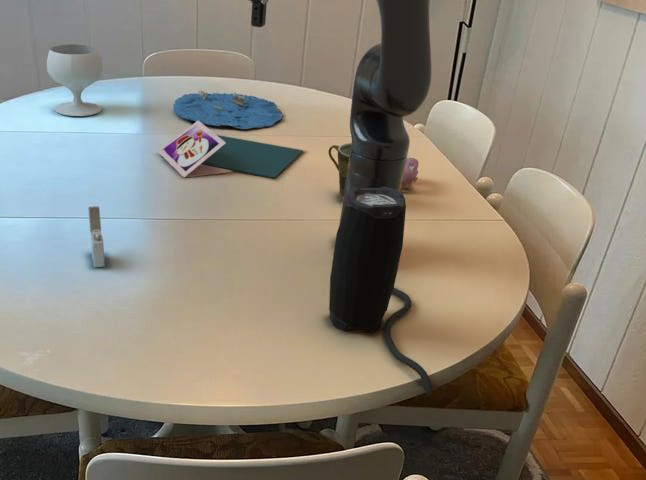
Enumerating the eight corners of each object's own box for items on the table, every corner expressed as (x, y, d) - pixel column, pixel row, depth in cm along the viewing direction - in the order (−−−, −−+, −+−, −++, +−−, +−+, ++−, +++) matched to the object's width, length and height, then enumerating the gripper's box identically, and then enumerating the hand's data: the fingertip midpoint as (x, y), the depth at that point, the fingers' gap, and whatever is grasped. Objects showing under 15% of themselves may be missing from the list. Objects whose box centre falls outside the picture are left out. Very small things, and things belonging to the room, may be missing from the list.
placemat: (274, 179, 152) (274, 177, 152) (173, 159, 159) (173, 157, 159) (303, 152, 167) (303, 150, 167) (209, 135, 175) (209, 133, 174)
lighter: (104, 266, 116) (102, 221, 112) (94, 267, 116) (91, 221, 111) (101, 247, 122) (98, 203, 117) (90, 248, 121) (87, 203, 117)
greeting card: (181, 174, 150) (156, 149, 161) (199, 199, 155) (173, 173, 166) (224, 139, 149) (196, 117, 160) (240, 165, 155) (212, 142, 165)
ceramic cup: (390, 200, 145) (399, 151, 139) (362, 213, 139) (370, 163, 133) (338, 182, 152) (344, 135, 147) (309, 194, 146) (315, 145, 140)
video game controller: (402, 201, 149) (424, 173, 145) (384, 189, 149) (405, 161, 145) (402, 184, 157) (422, 158, 153) (385, 173, 157) (405, 146, 153)
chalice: (100, 119, 181) (97, 57, 172) (45, 117, 181) (39, 54, 172) (108, 104, 192) (106, 45, 184) (56, 102, 192) (51, 42, 184)
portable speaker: (312, 317, 106) (329, 192, 95) (355, 299, 111) (375, 178, 100) (356, 343, 101) (378, 213, 89) (398, 323, 106) (425, 198, 94)
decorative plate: (303, 116, 196) (306, 96, 193) (247, 141, 174) (249, 120, 171) (213, 92, 208) (215, 73, 205) (150, 113, 186) (151, 92, 183)
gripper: (258, -90, 125) (251, 18, 135) (229, -88, 115) (224, 29, 125) (299, -87, 123) (289, 23, 133) (272, -84, 113) (264, 34, 122)
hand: (257, 26), depth 129 cm, fingers closed
